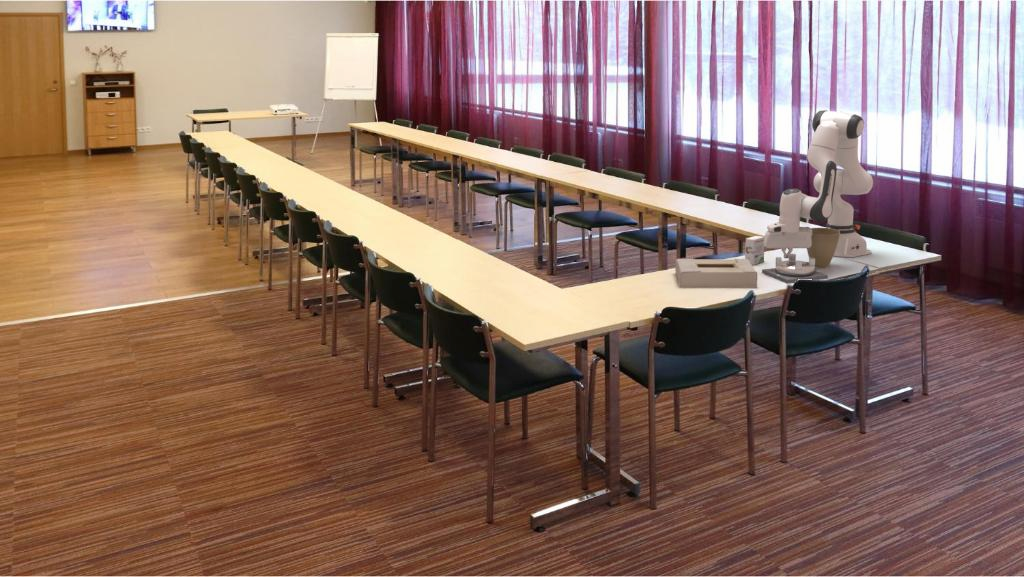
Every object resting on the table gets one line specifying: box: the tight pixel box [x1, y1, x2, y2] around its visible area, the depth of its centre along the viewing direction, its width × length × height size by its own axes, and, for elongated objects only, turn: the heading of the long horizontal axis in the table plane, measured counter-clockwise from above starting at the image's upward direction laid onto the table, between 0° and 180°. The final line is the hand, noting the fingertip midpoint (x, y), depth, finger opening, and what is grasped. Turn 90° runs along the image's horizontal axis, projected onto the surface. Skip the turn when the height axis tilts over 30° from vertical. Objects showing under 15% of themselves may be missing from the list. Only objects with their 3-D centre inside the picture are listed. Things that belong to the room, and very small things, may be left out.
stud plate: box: [761, 267, 829, 284], centre depth 410 cm, size 20×19×2 cm
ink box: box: [744, 235, 766, 266], centre depth 432 cm, size 8×5×12 cm, turn 131°
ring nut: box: [775, 253, 816, 276], centre depth 409 cm, size 16×16×6 cm
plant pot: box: [806, 227, 840, 269], centre depth 423 cm, size 15×15×16 cm
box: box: [674, 258, 758, 288], centre depth 405 cm, size 23×8×32 cm
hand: (786, 258), depth 415 cm, fingers closed
